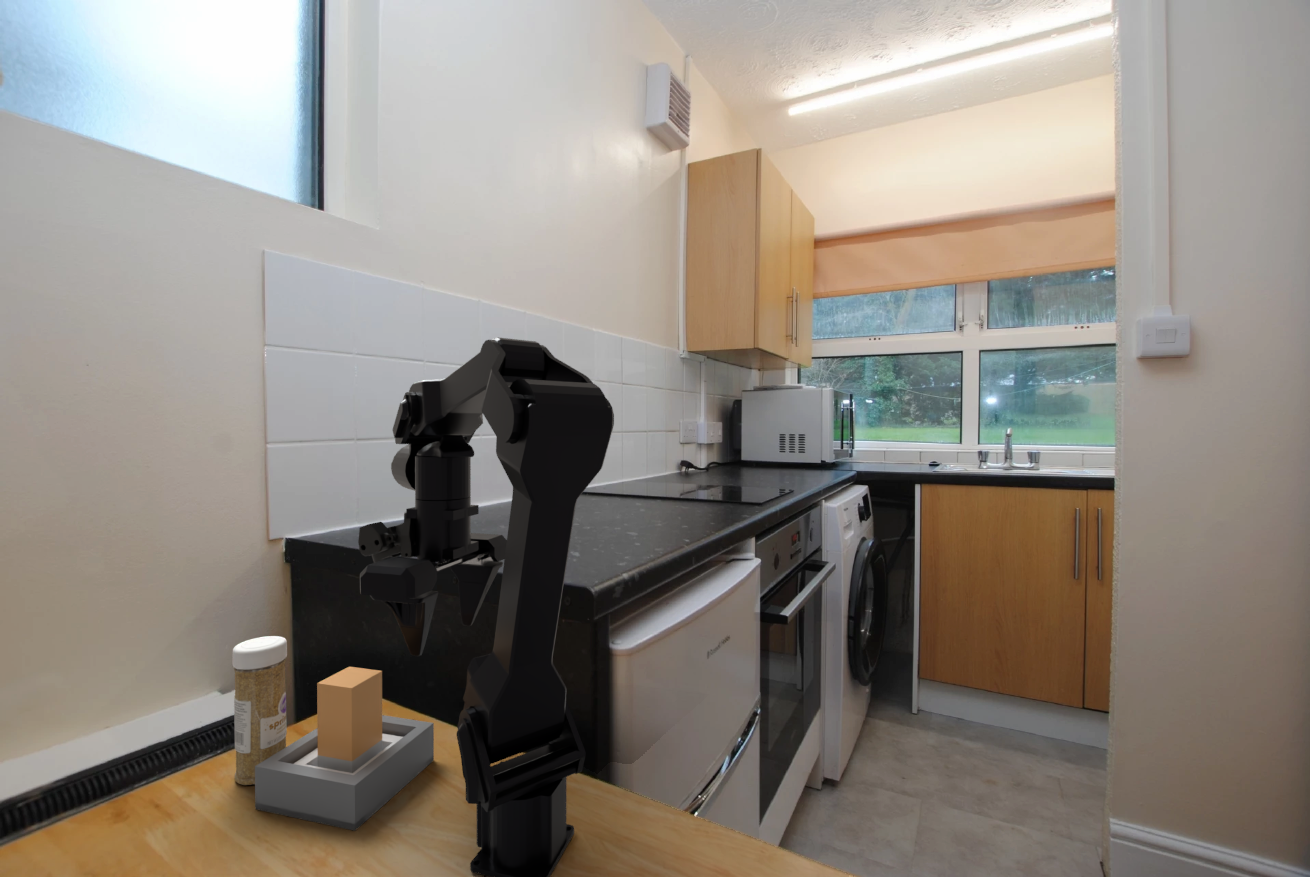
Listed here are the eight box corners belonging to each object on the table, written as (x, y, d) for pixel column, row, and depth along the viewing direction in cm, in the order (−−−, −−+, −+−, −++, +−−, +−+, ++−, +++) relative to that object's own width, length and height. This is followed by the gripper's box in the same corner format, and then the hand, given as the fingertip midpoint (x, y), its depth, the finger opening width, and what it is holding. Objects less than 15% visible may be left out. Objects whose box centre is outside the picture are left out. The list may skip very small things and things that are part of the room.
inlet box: (433, 760, 61) (433, 723, 61) (354, 830, 50) (354, 785, 50) (347, 745, 63) (347, 709, 63) (255, 809, 53) (255, 766, 53)
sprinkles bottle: (288, 777, 58) (287, 644, 57) (231, 793, 55) (230, 654, 55) (287, 755, 61) (286, 631, 61) (234, 769, 59) (233, 639, 59)
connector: (382, 768, 58) (382, 670, 58) (352, 792, 54) (351, 688, 54) (349, 762, 59) (349, 666, 59) (317, 785, 55) (317, 683, 55)
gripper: (432, 487, 74) (433, 607, 74) (312, 505, 56) (313, 665, 56) (510, 489, 71) (510, 615, 71) (410, 510, 53) (411, 678, 53)
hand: (443, 639), depth 63 cm, fingers open, 9 cm apart
